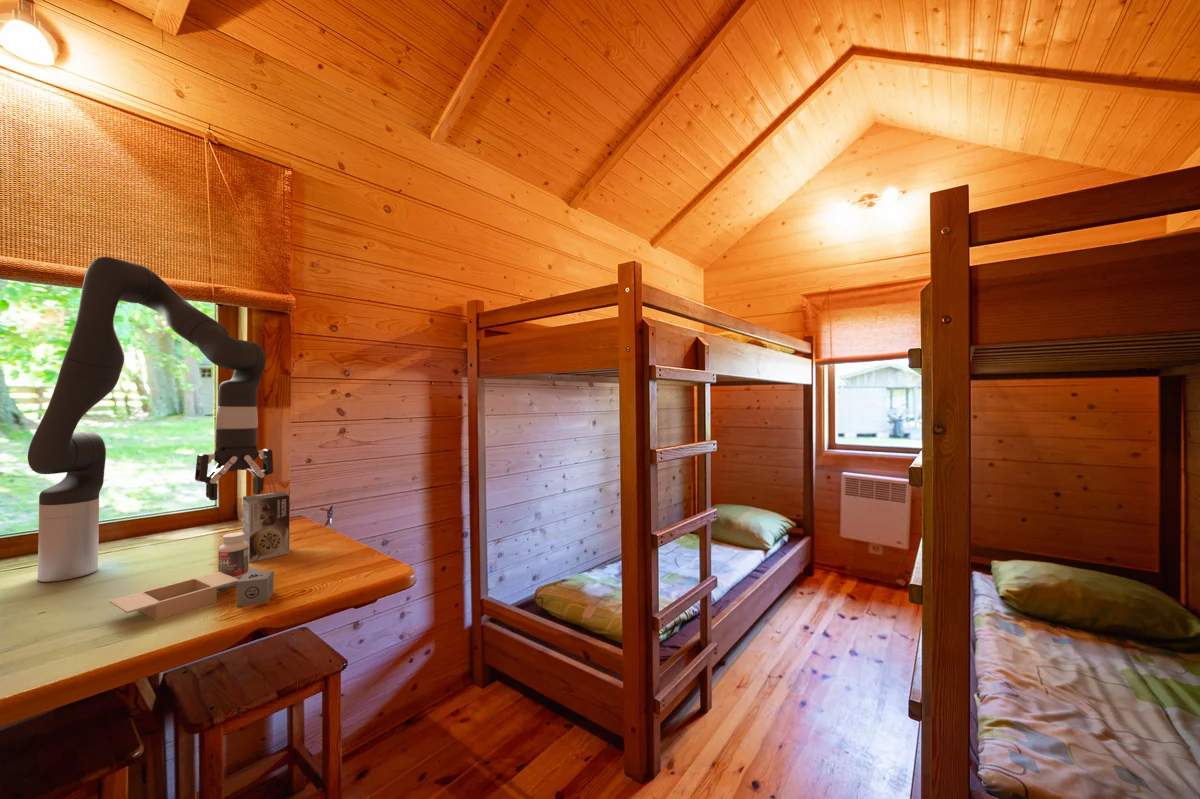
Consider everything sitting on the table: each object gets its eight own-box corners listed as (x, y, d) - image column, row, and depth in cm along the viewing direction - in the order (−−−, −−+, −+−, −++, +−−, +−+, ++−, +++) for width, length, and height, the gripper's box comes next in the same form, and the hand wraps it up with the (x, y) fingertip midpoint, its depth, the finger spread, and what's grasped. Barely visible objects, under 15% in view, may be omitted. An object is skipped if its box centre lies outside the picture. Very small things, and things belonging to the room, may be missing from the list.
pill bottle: (214, 583, 102) (215, 539, 102) (222, 574, 107) (223, 532, 107) (244, 579, 104) (245, 536, 104) (251, 571, 109) (251, 530, 109)
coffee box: (282, 549, 127) (282, 490, 127) (290, 554, 123) (290, 494, 123) (241, 557, 120) (242, 495, 120) (248, 563, 116) (249, 499, 116)
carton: (108, 617, 87) (108, 600, 87) (219, 586, 102) (219, 571, 102) (126, 629, 82) (126, 611, 82) (239, 594, 97) (239, 579, 97)
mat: (197, 582, 103) (197, 580, 103) (248, 568, 112) (248, 566, 112) (217, 591, 98) (217, 589, 98) (269, 576, 107) (269, 574, 107)
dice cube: (245, 597, 96) (245, 573, 96) (273, 593, 98) (273, 570, 98) (236, 607, 92) (237, 582, 92) (266, 603, 94) (267, 578, 94)
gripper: (263, 424, 114) (262, 490, 113) (191, 426, 101) (189, 500, 101) (279, 425, 110) (278, 493, 110) (206, 428, 97) (204, 504, 97)
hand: (235, 496), depth 105 cm, fingers open, 8 cm apart
